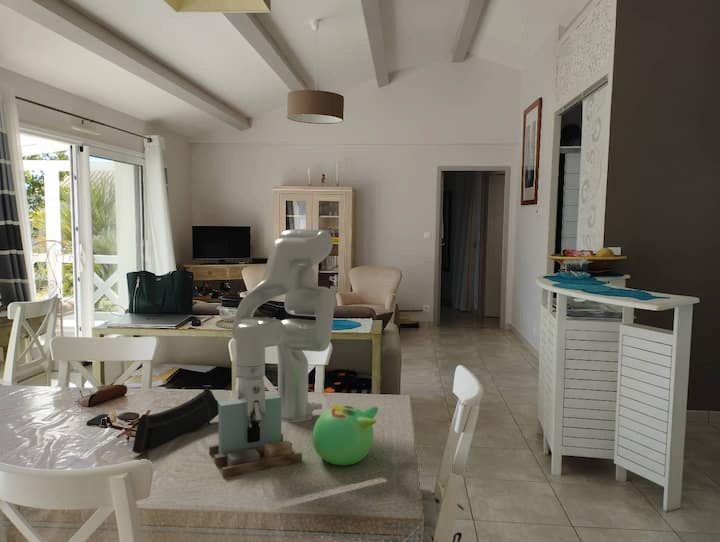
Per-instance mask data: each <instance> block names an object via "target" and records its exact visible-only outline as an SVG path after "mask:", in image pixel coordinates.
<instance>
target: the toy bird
mask: <svg viewBox="0 0 720 542" xmlns="http://www.w3.org/2000/svg"><path fill="white" fill-rule="evenodd" d="M331 406H332V407H331V408H328V409H326V410H325V411H323V412H322V413H321V415H320V416H319V417H318V418H317V420H316V422H315V423H314V426H313V427H314V428H313V432H312V443H313V447H314V449H315V452H316V454H318V457H320V458H322V459H323V460H324V461H325V462H328V463H330V464H331V465H336V466H343V467H344V466H351V465H354V464H357V463H358V462H361V461H362V460H363V459H364V458H365V457H366V456H367V455H368V453H369V452H370V450H371V448H372V446H373V442H374V436H375V435H374V434H375V432H374V427H373V425H375V424H377V419H375V417H376V415H377V413H378V411H379V407H378V406H376V405H375V406H373V407H371V408H368V409H366V410H364V411H362V410H360V409H359V408H357V407H353V406H350V405H341V404H338V403H331Z"/></svg>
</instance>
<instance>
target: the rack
mask: <svg viewBox="0 0 720 542" xmlns="http://www.w3.org/2000/svg"><path fill="white" fill-rule="evenodd" d="M283 441H284V433H282V432H281V442H283ZM286 441H287V440H286ZM287 442H288V443H289V444H290V445H291V446H292V447H293V442H292V441H290V440H288V441H287ZM250 449H256V451H257V452H258V453H259V454H260V460H259V461H254V462H249V463H244V464H239V465H234V466H229V467H228V466H227V454H229V453H234V452H239V451H245V450H250ZM208 454H209V456H210V458H211V459H212V462H213V463H214V464H215V466H216V468H217V470H218V471H219V473H220V475H221V477H222V478H223V479H224V480H225V479H229V478H234V477H235V478H236V477H239V476H243V475H249V474H252V473H257V472H263V471H268V470H272V469H276V468H282V467H287V466H291V465H297V464H301V463H303V453H302V452H301V451H300V452H299V451H298V452H294V451H293V450H292V454H289V455H284V456H279V457H274V458H269V459H265V458H264V446H260V447H254V448H249V449H243V450H238V451H233V452H227V453H222V454H219V443H218V444H213V445H209V447H208Z"/></svg>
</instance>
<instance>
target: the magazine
mask: <svg viewBox="0 0 720 542" xmlns="http://www.w3.org/2000/svg"><path fill="white" fill-rule="evenodd" d="M217 416H218V400H217V399H216V398H215V395H214V393H213V390H211V389H210V388H204V389H203V391H202V392H200V393H198V395H196V396H194V397H193V398H191V399H189V400H188V401H185V402H184V403H182V404H180V405H178V406H174V407H173V408H169V409H166V410H164V411H161V412H157V413H153V414H145V413H144V414H142V415H140V417H141V420H140V421H139V423H137V424H138V425H136V426H137V427H136V430H135V431H136V432H135V435H134V442H133V446H132V451H131V452H133V453H135V454H138V455H139V454H143V453H146V452H149V451H153V450H154V449H156V448H158V447H160V446H162V445H165V444H167V443H168V442H169V443H170V442H171V441H173V440H176V439H178V438H179V437H181V436H184V435H186V434H192V433H196V432H197V431H198V430H200V429H201V428H202V427H205V426H206V425H210V424H211V421H212V420H214V419H215V418H216V417H217Z"/></svg>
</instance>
